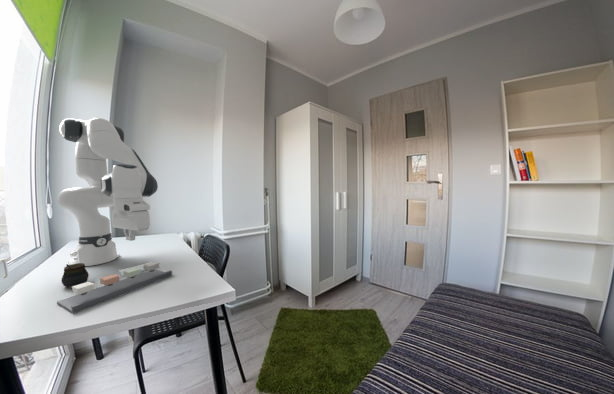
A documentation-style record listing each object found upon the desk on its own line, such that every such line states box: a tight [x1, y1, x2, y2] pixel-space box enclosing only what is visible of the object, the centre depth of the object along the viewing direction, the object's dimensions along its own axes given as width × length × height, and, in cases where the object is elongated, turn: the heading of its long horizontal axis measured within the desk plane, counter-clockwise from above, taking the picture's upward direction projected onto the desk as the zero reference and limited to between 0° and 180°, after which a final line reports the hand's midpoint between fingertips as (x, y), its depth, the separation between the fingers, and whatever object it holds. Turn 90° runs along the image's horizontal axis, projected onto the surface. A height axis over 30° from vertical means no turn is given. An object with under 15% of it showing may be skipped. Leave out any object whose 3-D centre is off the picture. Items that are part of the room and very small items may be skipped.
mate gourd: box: [61, 263, 90, 288], centre depth 83 cm, size 7×8×10 cm
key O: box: [71, 281, 95, 295], centre depth 71 cm, size 4×4×3 cm
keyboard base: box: [56, 269, 173, 315], centre depth 80 cm, size 13×30×2 cm, turn 155°
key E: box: [99, 273, 120, 286], centre depth 77 cm, size 4×4×3 cm
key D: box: [123, 267, 142, 278], centre depth 83 cm, size 4×4×3 cm
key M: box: [144, 261, 160, 272], centre depth 90 cm, size 4×4×3 cm
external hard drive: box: [118, 261, 152, 277], centre depth 98 cm, size 2×8×12 cm
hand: (130, 240), depth 83 cm, fingers closed
